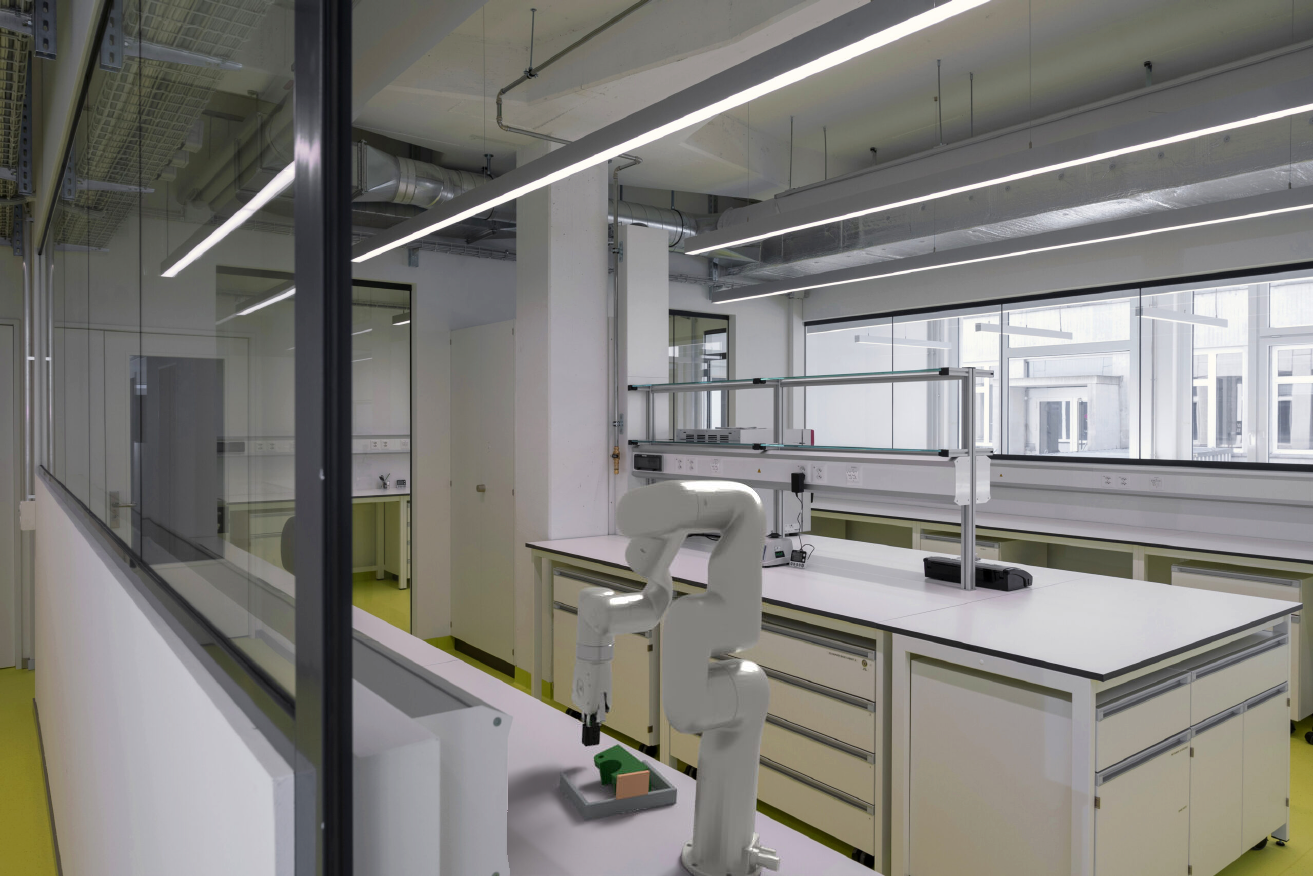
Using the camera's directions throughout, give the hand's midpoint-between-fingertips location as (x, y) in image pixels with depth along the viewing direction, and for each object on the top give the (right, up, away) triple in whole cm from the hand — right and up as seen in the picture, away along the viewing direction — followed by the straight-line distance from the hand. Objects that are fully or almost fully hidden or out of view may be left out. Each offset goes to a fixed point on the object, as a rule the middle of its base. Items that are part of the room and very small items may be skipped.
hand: (590, 744), depth 154 cm
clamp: (+6, -5, -10) cm, 12 cm away
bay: (+6, -4, -12) cm, 14 cm away
